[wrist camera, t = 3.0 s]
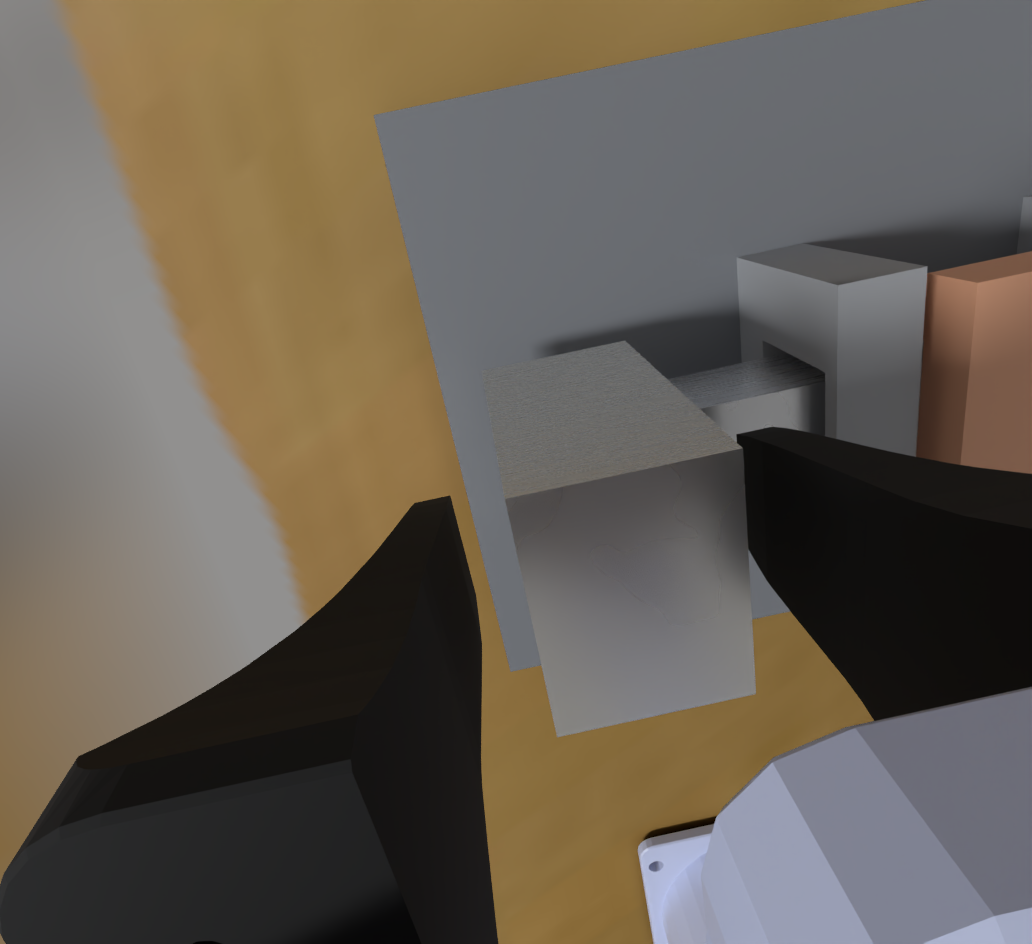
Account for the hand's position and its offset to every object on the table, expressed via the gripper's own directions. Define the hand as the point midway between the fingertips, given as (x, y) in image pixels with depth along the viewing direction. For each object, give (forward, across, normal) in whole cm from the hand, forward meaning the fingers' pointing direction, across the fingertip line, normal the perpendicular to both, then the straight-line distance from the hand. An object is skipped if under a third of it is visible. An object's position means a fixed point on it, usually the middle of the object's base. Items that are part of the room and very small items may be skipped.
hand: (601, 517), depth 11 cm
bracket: (+6, -5, 0) cm, 8 cm away
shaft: (+3, -5, 0) cm, 6 cm away
